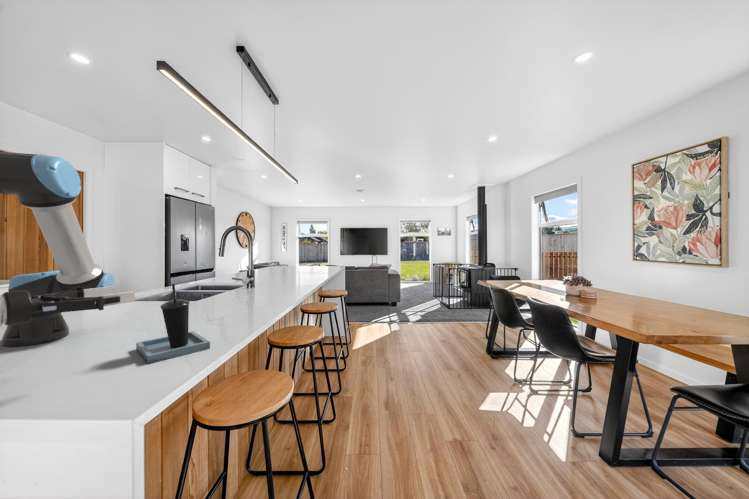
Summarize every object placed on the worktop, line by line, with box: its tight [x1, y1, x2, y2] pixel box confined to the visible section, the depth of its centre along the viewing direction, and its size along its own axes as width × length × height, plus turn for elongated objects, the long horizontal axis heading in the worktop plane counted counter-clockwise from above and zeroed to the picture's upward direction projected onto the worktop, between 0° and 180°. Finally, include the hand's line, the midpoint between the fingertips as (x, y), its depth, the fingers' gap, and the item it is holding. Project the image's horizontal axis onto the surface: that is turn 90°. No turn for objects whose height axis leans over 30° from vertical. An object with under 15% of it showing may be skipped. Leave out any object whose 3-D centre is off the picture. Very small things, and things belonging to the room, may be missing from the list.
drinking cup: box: [159, 283, 191, 348], centre depth 93 cm, size 8×8×20 cm
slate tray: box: [135, 330, 211, 365], centre depth 93 cm, size 16×16×2 cm
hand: (123, 293), depth 82 cm, fingers open, 13 cm apart
